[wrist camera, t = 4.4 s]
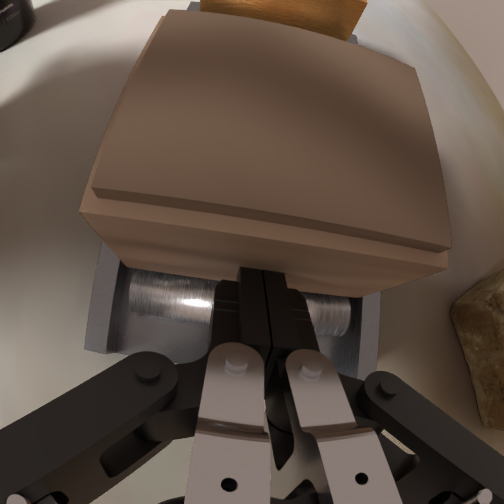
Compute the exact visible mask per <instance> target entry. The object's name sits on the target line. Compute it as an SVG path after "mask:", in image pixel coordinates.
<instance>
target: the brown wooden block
mask: <svg viewBox="0 0 504 504" xmlns="http://www.w3.org/2000/svg"><path fill="white" fill-rule="evenodd" d="M79 213H80V214H81V215H82V216H83V218H84V219H85V220H86V221H87V222H88V223H89V225H90V226H91V227H92V228H93V229H94V231H95V232H96V233H97V234H98V235H99V236H100V237H101V239H102V240H103V241H104V242H105V243H106V244H107V245H108V247H109V248H110V249H111V250H112V251H113V252H114V253H115V254H116V256H117V257H118V258H119V259H120V260H121V261H122V262H123V263H124V264H125V265H126V267H130V268H136V269H142V270H149V271H155V272H162V273H168V274H175V275H182V276H189V277H195V278H202V279H209V280H217V281H221V280H222V279H224V280H231V281H236V279H237V274H238V270H239V267H246V268H253V269H260V270H267V271H275V272H282V273H284V274H285V278H286V282H287V287H288V288H291V289H297V290H298V291H302V292H310V293H319V294H328V295H337V296H346V297H355V298H359V297H363V296H366V295H369V294H373V293H376V292H379V291H382V290H386V289H389V288H392V287H395V286H398V285H401V284H404V283H408V282H411V281H414V280H417V279H420V278H423V277H426V276H428V275H431V274H434V273H437V272H440V271H443V270H446V269H449V262H448V249H450V248H452V243H451V232H450V223H449V215H448V207H447V200H446V193H445V187H444V181H443V175H442V170H441V165H440V160H439V155H438V150H437V145H436V141H435V137H434V132H433V128H432V124H431V120H430V117H429V113H428V109H427V106H426V102H425V99H424V95H423V92H422V89H421V85H420V82H419V79H418V76H417V73H416V70H415V68H413V67H411V66H409V65H407V64H404V63H402V62H400V61H397V60H395V59H392V58H390V57H387V56H385V55H382V54H380V53H377V52H374V51H372V50H369V49H366V48H363V47H361V46H358V45H355V44H352V43H349V42H346V41H343V40H339V39H336V38H333V37H330V36H326V35H323V34H319V33H316V32H312V31H308V30H304V29H300V28H296V27H292V26H288V25H283V24H279V23H274V22H269V21H264V20H258V19H253V18H247V17H241V16H234V15H227V14H219V13H210V12H200V11H188V10H172V9H169V11H168V13H167V14H166V16H162V17H161V19H160V20H159V22H158V24H157V25H156V27H155V29H154V31H153V32H152V34H151V36H150V38H149V40H148V41H147V43H146V45H145V47H144V49H143V51H142V53H141V55H140V56H139V58H138V60H137V62H136V64H135V66H134V68H133V70H132V72H131V74H130V76H129V79H128V81H127V83H126V85H125V87H124V89H123V91H122V94H121V96H120V98H119V100H118V103H117V105H116V107H115V110H114V112H113V114H112V117H111V119H110V122H109V124H108V127H107V129H106V132H105V134H104V137H103V139H102V142H101V145H100V147H99V150H98V153H97V156H96V158H95V161H94V164H93V167H92V170H91V173H90V176H89V179H88V182H87V185H86V188H85V192H84V195H83V198H82V202H81V205H80V209H79Z"/></svg>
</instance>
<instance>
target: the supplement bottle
mask: <svg viewBox="0 0 504 504" xmlns="http://www.w3.org/2000/svg"><path fill="white" fill-rule="evenodd" d="M34 22H35V12H34V8H33V4H32V1H31V0H0V51H1V50H3V49H5V48H7V47H9V46H10V45H12V44H14V43H15V42H16V41H18V40H19V39H20V38H22V37H23V36H24V35H25V34H26V33H27V32H28V31H29V30H30V29H31V27H32V26H33V24H34Z"/></svg>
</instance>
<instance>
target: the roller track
mask: <svg viewBox="0 0 504 504" xmlns="http://www.w3.org/2000/svg"><path fill="white" fill-rule="evenodd" d="M366 5H367V0H200V2H191V3H190V5H189V7H188V9H187V10H188V11H200V12H210V13H219V14H227V15H234V16H241V17H247V18H253V19H258V20H264V21H269V22H274V23H279V24H283V25H288V26H292V27H296V28H300V29H304V30H308V31H312V32H316V33H319V34H323V35H326V36H330V37H333V38H336V39H339V40H343V41H346V42H349V43H352V44H355V45H358V42H357V37H356V35H353V34H352V32H353V30H354V28H355V26H356V24H357V22H358V21H359V19H360V17H361V15H362V13H363V11H364V9H365V7H366ZM219 283H220V281H217V280H209V279H202V278H195V277H189V276H182V275H175V274H168V273H162V272H155V271H149V270H142V269H136V268H130V267H126V265H125V264H124V263H123V262H122V261H121V260H120V259H119V258H118V257H117V256H116V254H115V253H114V252H113V251H112V250H111V249H110V248H109V247H108V245H107V244H106V243H105V242H104V241H103V240H102V245H101V249H100V254H99V259H98V263H97V268H96V274H95V279H94V284H93V290H92V296H91V302H90V308H89V315H88V322H87V329H86V337H85V346H84V349H85V350H89V351H93V352H98V353H102V354H110V353H120V354H125V355H132V354H134V353H137V352H142V351H152V352H157V353H160V354H162V355H164V356H166V357H168V358H169V359H170V360H171V361H172V362H173V363H178V364H183V363H190V362H193V361H196V360H198V359H200V358H202V357H203V356H204V355H205V354H206V353H207V348H208V336H209V324H210V317H211V311H212V304H213V298H214V292H215V287H216V286H217V285H218V284H219ZM299 292H300V293H301V294H302V296H303V297H304V298H305V299H306V302H307V306H308V309H309V311H308V312H309V313H310V316H311V321H312V324H313V327H314V331H315V334H316V338H317V342H318V345H319V349H320V353H322V354H324V355H325V356H327V357H328V358H329V359H330V360H331V361H332V363H333V364H334V366H335V368H336V371H337V372H338V373H340V374H343V375H346V376H349V377H353V378H356V379H360V380H365V379H366V377H367V376H368V375H369V374H370V373H372V372H375V371H376V367H377V355H378V342H379V324H380V298H381V291H379V292H376V293H373V294H369V295H366V296H363V297H359V298H355V297H346V296H337V295H328V294H319V293H310V292H302V291H299Z"/></svg>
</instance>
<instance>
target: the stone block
mask: <svg viewBox="0 0 504 504" xmlns="http://www.w3.org/2000/svg"><path fill="white" fill-rule="evenodd" d="M450 315H451V317H452V319H453V323H454V327H455V329H456V332H457V334H458V337H459V340H460V343H461V346H462V348H463V351H464V356H465V360H466V362H467V364H468V365H469V368H470V371H471V381H472V383H473V386H474V388H475V393H476V398H477V404H478V409H479V413H480V416H481V419H482V422H483V424H484V427H486V428H494V429H500V430H504V269H502V270H500V271H498V272H496V273H494V274H492V275H491V276H489V277H488V278H486V279H484V280H483V281H482V282H480V283H479V284H478V285H476V286H475V287H474V288H472V289H471V290H469V291H468V292H466V293H465V294H464V295H463V296H461V297H460V298H459V299H458V300H457V301H456V302H455V304H454V305H453V308H452V311H451V313H450Z"/></svg>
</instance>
